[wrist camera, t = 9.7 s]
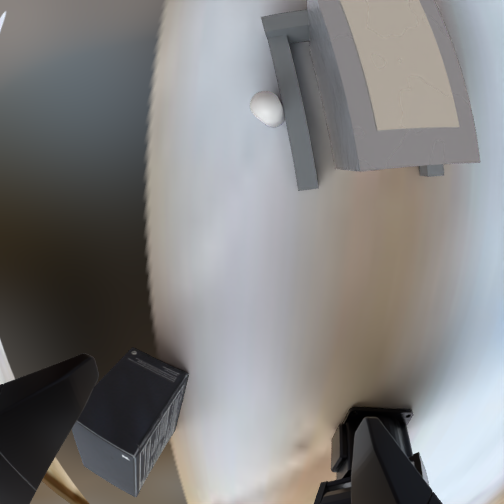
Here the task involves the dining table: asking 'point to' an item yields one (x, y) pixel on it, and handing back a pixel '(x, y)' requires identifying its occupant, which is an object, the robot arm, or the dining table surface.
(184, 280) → the dining table surface
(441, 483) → the dining table surface
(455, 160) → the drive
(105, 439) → the small box
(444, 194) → the dining table surface
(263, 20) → the dock
